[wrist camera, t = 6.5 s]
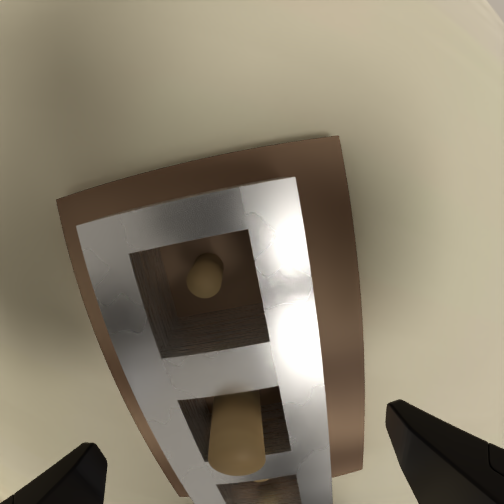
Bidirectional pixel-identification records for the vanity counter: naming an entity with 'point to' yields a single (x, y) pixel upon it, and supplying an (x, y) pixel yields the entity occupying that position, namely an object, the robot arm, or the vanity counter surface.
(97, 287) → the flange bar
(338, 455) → the post stand
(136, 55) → the vanity counter surface
